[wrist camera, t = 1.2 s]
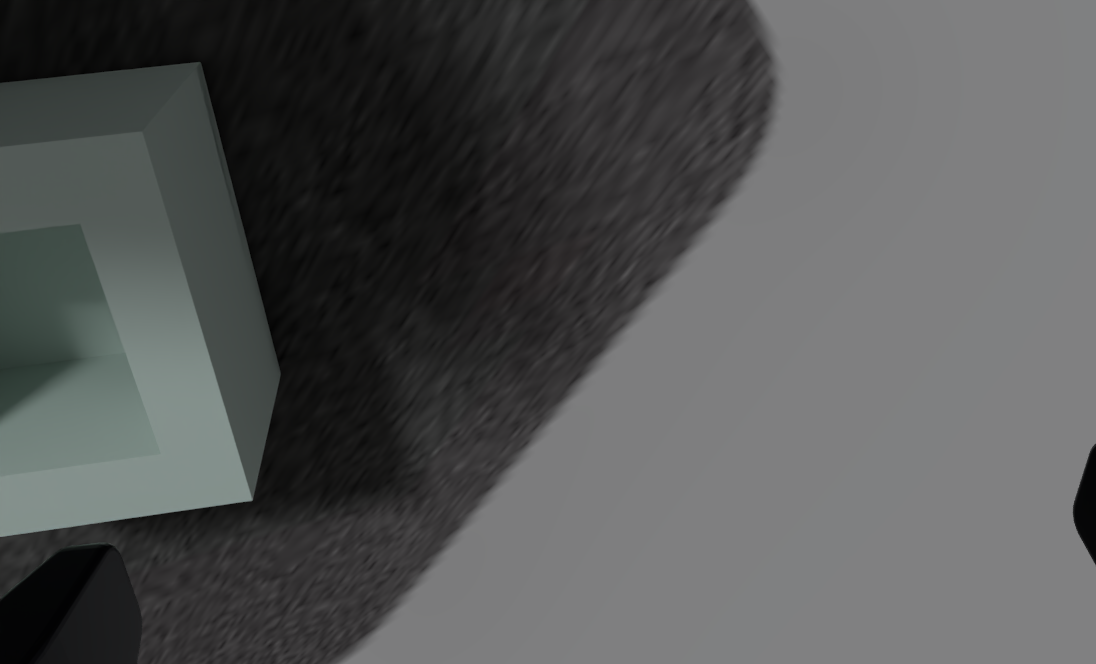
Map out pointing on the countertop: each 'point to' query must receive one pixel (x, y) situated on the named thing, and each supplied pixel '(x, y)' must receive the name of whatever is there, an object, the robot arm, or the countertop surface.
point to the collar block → (124, 304)
